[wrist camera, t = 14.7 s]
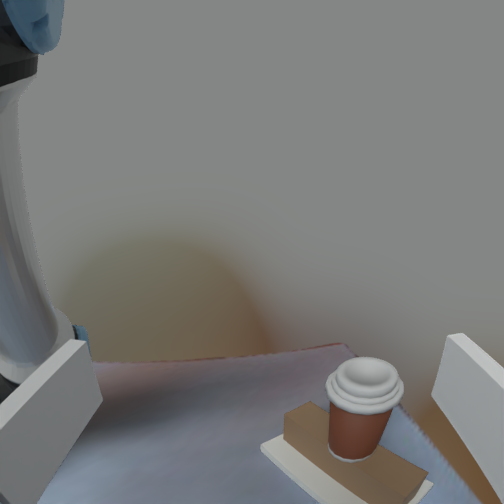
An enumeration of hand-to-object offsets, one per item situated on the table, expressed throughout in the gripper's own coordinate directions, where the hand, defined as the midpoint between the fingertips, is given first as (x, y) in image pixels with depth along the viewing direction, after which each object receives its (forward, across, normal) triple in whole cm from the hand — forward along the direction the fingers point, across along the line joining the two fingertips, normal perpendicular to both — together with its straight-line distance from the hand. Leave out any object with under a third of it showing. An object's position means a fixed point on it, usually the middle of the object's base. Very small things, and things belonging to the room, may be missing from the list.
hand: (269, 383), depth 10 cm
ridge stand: (+19, +11, -32) cm, 39 cm away
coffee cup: (+19, +11, -25) cm, 34 cm away
